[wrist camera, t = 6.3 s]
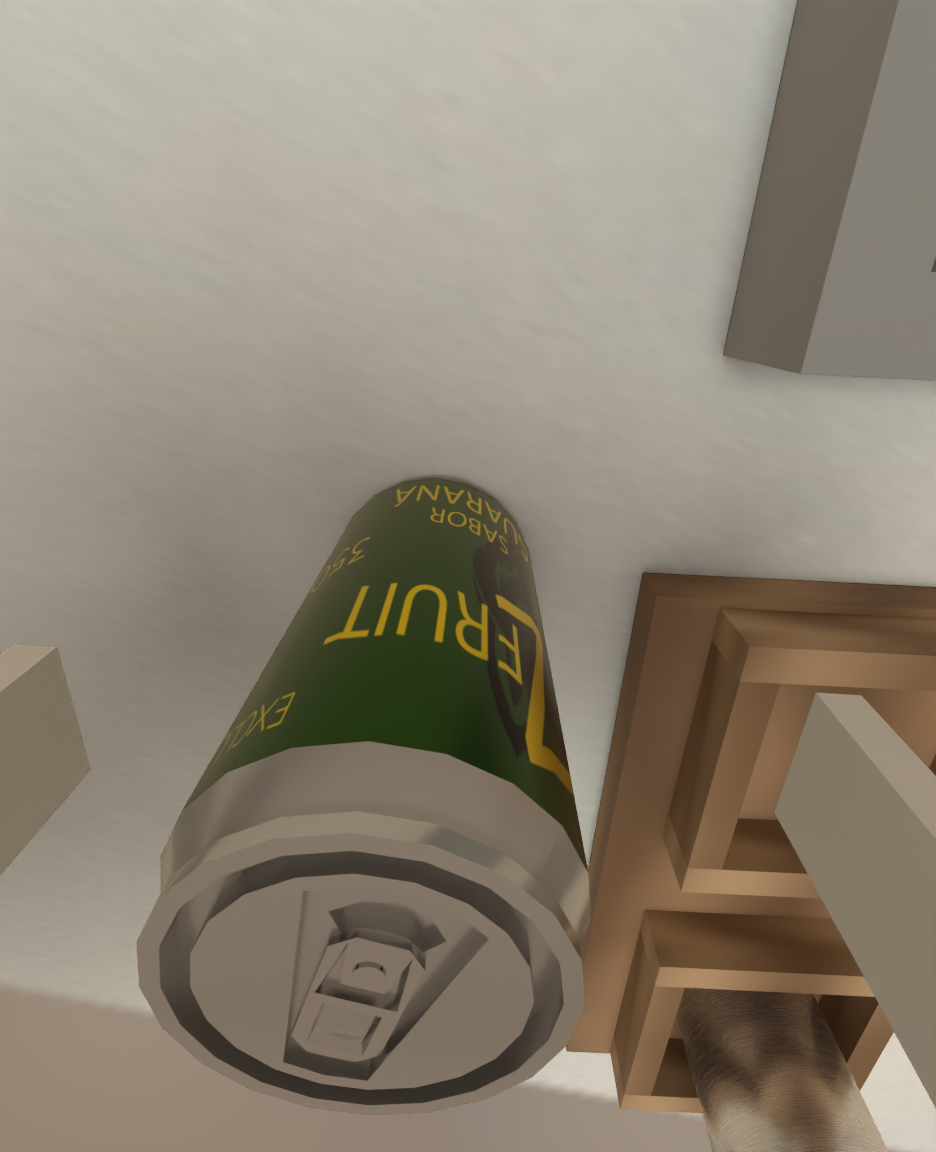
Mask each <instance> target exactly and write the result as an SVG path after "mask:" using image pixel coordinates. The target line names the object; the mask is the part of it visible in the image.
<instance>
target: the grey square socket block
mask: <svg viewBox="0 0 936 1152" xmlns="http://www.w3.org/2000/svg"><path fill="white" fill-rule="evenodd" d="M724 355H726V356H730V357H734V358H738V359H742V360H746V361H750V362H754V363H758V364H762V365H767V366H771V367H775V368H779V369H783V370H787V371H791V372H795V373H799V374H814V375H834V376H854V377H873V378H893V379H913V380H933V381H936V0H798V3H797V7H796V12H795V17H794V22H793V26H792V31H791V36H790V41H789V45H788V50H787V55H786V60H785V65H784V69H783V74H782V79H781V84H780V88H779V93H778V98H777V103H776V107H775V112H774V117H773V122H772V126H771V131H770V136H769V141H768V145H767V150H766V155H765V160H764V165H763V169H762V174H761V179H760V184H759V188H758V193H757V198H756V203H755V207H754V212H753V217H752V222H751V226H750V231H749V236H748V241H747V246H746V250H745V255H744V260H743V265H742V269H741V274H740V279H739V284H738V288H737V293H736V298H735V303H734V307H733V312H732V317H731V322H730V326H729V331H728V336H727V341H726V346H725V350H724Z"/></svg>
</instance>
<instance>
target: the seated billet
mask: <svg viewBox="0 0 936 1152" xmlns="http://www.w3.org/2000/svg"><path fill="white" fill-rule="evenodd" d="M676 1019H677V1023H678V1026H679V1030H680V1034H681V1037H682V1041H683V1045H684V1049H685V1052H686V1056H687V1060H688V1063H689V1067H690V1071H691V1074H692V1078H693V1082H694V1086H695V1089H696V1093H697V1097H698V1100H699V1104H700V1108H701V1111H702V1115H703V1119H704V1122H705V1126H706V1130H707V1134H708V1137H709V1141H710V1145H711V1148H712V1152H888V1150H887V1148H886V1145H885V1143H884V1141H883V1139H882V1137H881V1135H880V1133H879V1131H878V1129H877V1127H876V1124H875V1122H874V1120H873V1118H872V1116H871V1114H870V1112H869V1110H868V1108H867V1106H866V1103H865V1101H864V1099H863V1097H862V1095H861V1093H860V1091H859V1089H858V1087H857V1085H856V1082H855V1080H854V1078H853V1076H852V1074H851V1072H850V1070H849V1068H848V1066H847V1064H846V1061H845V1059H844V1057H843V1055H842V1053H841V1051H840V1049H839V1047H838V1045H837V1043H836V1040H835V1038H834V1036H833V1034H832V1032H831V1030H830V1028H829V1026H828V1024H827V1022H826V1019H825V1017H824V1015H823V1013H822V1011H821V1009H820V1007H819V1005H818V1003H817V1001H816V998H815V996H814V994H805V993H785V992H764V991H744V990H723V989H703V988H685V989H684V992H683V995H682V999H681V1002H680V1005H679V1008H678V1011H677V1015H676Z"/></svg>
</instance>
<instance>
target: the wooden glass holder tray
mask: <svg viewBox="0 0 936 1152" xmlns="http://www.w3.org/2000/svg"><path fill="white" fill-rule="evenodd" d="M816 693H831V694H848V695H861V696H862V697H863V698H864V699H865V700H866V701H867V702H868V703H869V704H870V705H871V707H872V708H873V709H874V710H875V711H876V712H877V713H878V714H879V715H880V716H881V717H882V718H883V719H884V721H885V722H886V723H887V724H888V725H889V726H890V727H891V728H892V729H893V730H894V731H895V732H896V734H897V735H898V736H899V737H900V738H901V739H902V740H903V741H904V742H905V743H906V744H907V745H908V746H909V748H910V749H911V750H912V751H913V752H914V753H915V754H916V755H917V756H918V757H919V758H920V759H921V761H922V762H923V763H924V764H925V765H926V766H927V767H928V768H929V769H930V770H931V771H932V772H933V773H934V775H935V776H936V587H916V586H896V585H876V584H856V583H836V582H816V581H796V580H776V579H756V578H736V577H716V576H696V575H676V574H656V573H643V575H642V581H641V586H640V591H639V597H638V602H637V608H636V613H635V619H634V624H633V630H632V635H631V640H630V646H629V651H628V657H627V662H626V668H625V673H624V679H623V684H622V690H621V695H620V700H619V706H618V711H617V717H616V722H615V728H614V733H613V739H612V744H611V749H610V755H609V760H608V766H607V771H606V777H605V782H604V788H603V793H602V798H601V804H600V809H599V815H598V820H597V826H596V831H595V837H594V842H593V848H592V853H591V858H590V864H589V869H588V877H589V894H590V912H591V922H590V925H589V928H588V931H587V934H586V936H585V939H584V942H583V945H582V948H581V958H582V969H583V983H584V997H585V1006H584V1009H583V1011H582V1013H581V1015H580V1017H579V1020H578V1022H577V1024H576V1026H575V1029H574V1031H573V1033H572V1035H571V1037H570V1040H569V1042H568V1044H567V1046H566V1050H567V1051H570V1052H591V1053H611V1059H612V1065H613V1070H614V1076H615V1082H616V1088H617V1094H618V1100H619V1106H620V1109H629V1110H648V1111H669V1112H690V1113H702V1111H701V1108H700V1104H699V1100H698V1097H697V1093H696V1089H695V1086H694V1082H693V1078H692V1074H691V1071H690V1067H689V1063H688V1060H687V1056H686V1052H685V1049H684V1045H683V1041H682V1037H681V1034H680V1030H679V1026H678V1023H677V1019H676V1015H677V1011H678V1008H679V1005H680V1002H681V999H682V995H683V992H684V989H685V988H703V989H723V990H744V991H764V992H785V993H805V994H814V996H815V998H816V1001H817V1003H818V1005H819V1007H820V1009H821V1011H822V1013H823V1015H824V1017H825V1019H826V1022H827V1024H828V1026H829V1028H830V1030H831V1032H832V1034H833V1036H834V1038H835V1040H836V1043H837V1045H838V1047H839V1049H840V1051H841V1053H842V1055H843V1057H844V1059H845V1061H846V1064H847V1066H848V1068H849V1070H850V1072H851V1074H852V1076H853V1078H854V1080H855V1082H856V1085H857V1087H858V1089H859V1091H860V1090H861V1088H862V1086H863V1084H864V1083H865V1081H866V1079H867V1077H868V1076H869V1074H870V1072H871V1070H872V1069H873V1067H874V1065H875V1063H876V1062H877V1060H878V1058H879V1056H880V1055H881V1053H882V1051H883V1050H884V1048H885V1046H886V1044H887V1043H888V1041H889V1039H890V1037H891V1036H892V1034H893V1032H894V1031H893V1029H892V1027H891V1025H890V1023H889V1022H888V1020H887V1018H886V1016H885V1014H884V1012H883V1011H882V1009H881V1007H880V1005H879V1003H878V1001H877V1000H876V998H875V996H874V994H873V992H872V990H871V989H870V987H869V985H868V983H867V981H866V979H865V978H864V976H863V974H862V972H861V970H860V968H859V967H858V965H857V963H856V961H855V959H854V957H853V956H852V954H851V952H850V950H849V948H848V946H847V945H846V943H845V941H844V939H843V937H842V935H841V934H840V932H839V930H838V928H837V926H836V925H835V923H834V921H833V919H832V917H831V915H830V914H829V912H828V910H827V908H826V906H825V904H824V903H823V901H822V899H821V897H820V895H819V893H818V892H817V890H816V888H815V886H814V884H813V882H812V881H811V879H810V877H809V875H808V873H807V871H806V870H805V868H804V866H803V864H802V862H801V860H800V859H799V857H798V855H797V853H796V851H795V849H794V848H793V846H792V844H791V842H790V840H789V838H788V837H787V835H786V833H785V831H784V829H783V827H782V826H781V824H780V822H779V820H778V818H777V816H776V815H775V810H776V807H777V804H778V801H779V798H780V796H781V793H782V790H783V787H784V784H785V781H786V778H787V775H788V772H789V769H790V766H791V764H792V761H793V758H794V755H795V752H796V749H797V746H798V743H799V740H800V737H801V735H802V732H803V729H804V726H805V723H806V720H807V717H808V714H809V711H810V708H811V705H812V703H813V700H814V697H815V694H816Z"/></svg>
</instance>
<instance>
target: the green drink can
mask: <svg viewBox="0 0 936 1152" xmlns="http://www.w3.org/2000/svg"><path fill="white" fill-rule="evenodd" d="M590 922H591V912H590V894H589V877H588V869H587V864H586V858H585V853H584V848H583V842H582V837H581V831H580V826H579V821H578V815H577V810H576V804H575V799H574V794H573V788H572V783H571V777H570V772H569V767H568V761H567V756H566V750H565V745H564V740H563V734H562V729H561V723H560V718H559V713H558V707H557V702H556V696H555V691H554V686H553V680H552V675H551V669H550V664H549V659H548V653H547V648H546V642H545V637H544V632H543V626H542V621H541V615H540V610H539V605H538V599H537V594H536V588H535V583H534V578H533V572H532V567H531V561H530V556H529V551H528V547H527V545H526V543H525V541H524V539H523V536H522V534H521V532H520V530H519V528H518V526H517V523H516V522H515V521H514V520H513V519H512V518H511V517H510V515H509V514H508V513H507V512H506V511H505V510H504V509H503V508H502V507H501V506H500V505H499V504H498V503H497V502H496V501H495V500H494V499H492V498H490V497H488V496H486V495H485V494H483V493H481V492H479V491H477V490H475V489H474V488H472V487H470V486H468V485H465V484H460V483H455V482H449V481H444V480H439V479H429V480H420V481H411V482H403V483H401V484H399V485H397V486H394V487H392V488H390V489H388V490H386V491H383V492H381V493H379V494H377V495H375V496H374V497H373V498H372V499H371V500H370V501H369V502H368V503H366V504H365V505H364V506H363V507H362V508H361V509H360V510H359V511H358V512H357V513H356V514H355V515H354V516H353V517H352V519H351V521H350V523H349V524H348V526H347V528H346V530H345V531H344V533H343V535H342V536H341V538H340V540H339V542H338V543H337V545H336V547H335V548H334V550H333V552H332V554H331V555H330V557H329V559H328V561H327V562H326V564H325V566H324V567H323V569H322V571H321V573H320V574H319V576H318V578H317V579H316V581H315V583H314V585H313V586H312V588H311V590H310V592H309V593H308V595H307V597H306V598H305V600H304V602H303V604H302V605H301V607H300V609H299V610H298V612H297V614H296V616H295V617H294V619H293V621H292V622H291V624H290V626H289V628H288V629H287V631H286V633H285V635H284V636H283V638H282V640H281V641H280V643H279V645H278V647H277V648H276V650H275V652H274V653H273V655H272V657H271V659H270V660H269V662H268V664H267V666H266V667H265V669H264V671H263V672H262V674H261V676H260V678H259V679H258V681H257V683H256V684H255V686H254V688H253V690H252V691H251V693H250V695H249V696H248V698H247V700H246V702H245V703H244V705H243V707H242V709H241V710H240V712H239V714H238V715H237V717H236V719H235V721H234V722H233V724H232V726H231V727H230V729H229V731H228V733H227V734H226V736H225V738H224V740H223V741H222V743H221V745H220V746H219V748H218V750H217V752H216V753H215V755H214V757H213V758H212V760H211V762H210V764H209V765H208V767H207V769H206V770H205V772H204V774H203V776H202V777H201V779H200V781H199V783H198V784H197V786H196V788H195V789H194V791H193V793H192V795H191V796H190V798H189V800H188V801H187V803H186V805H185V807H184V808H183V810H182V812H181V814H180V816H179V818H178V821H177V823H176V825H175V827H174V829H173V831H172V833H171V835H170V837H169V839H168V842H167V844H166V846H165V848H164V850H163V852H162V854H161V894H160V896H159V898H158V900H157V902H156V904H155V906H154V908H153V910H152V912H151V914H150V916H149V918H148V920H147V922H146V924H145V926H144V928H143V930H142V932H141V934H140V936H139V938H138V940H137V955H138V973H139V987H140V989H141V990H142V992H143V994H144V996H145V998H146V999H147V1001H148V1003H149V1005H150V1007H151V1008H152V1010H153V1012H154V1014H155V1016H156V1017H157V1019H158V1021H159V1023H160V1024H161V1026H162V1028H163V1029H164V1030H165V1031H166V1032H168V1034H170V1035H171V1036H172V1037H173V1038H174V1039H175V1040H176V1041H178V1043H180V1044H181V1045H182V1046H183V1047H184V1048H185V1049H186V1050H187V1051H188V1052H190V1053H191V1054H192V1055H193V1056H194V1057H195V1058H196V1059H197V1060H198V1061H200V1062H201V1063H202V1064H204V1065H206V1066H208V1067H210V1068H212V1069H213V1070H215V1071H217V1072H219V1073H221V1074H223V1075H225V1076H226V1077H228V1078H230V1079H232V1080H234V1081H236V1082H238V1083H239V1084H241V1085H243V1086H245V1087H247V1088H249V1089H251V1090H254V1091H256V1092H260V1093H263V1094H266V1095H269V1096H273V1097H276V1098H279V1099H283V1100H286V1101H289V1102H293V1103H296V1104H299V1105H302V1106H305V1107H309V1108H316V1109H324V1110H332V1111H340V1112H347V1113H356V1114H364V1115H387V1114H412V1113H430V1112H435V1111H439V1110H443V1109H448V1108H452V1107H456V1106H461V1105H465V1104H469V1103H474V1102H478V1101H482V1100H486V1099H488V1098H490V1097H492V1096H494V1095H496V1094H498V1093H500V1092H502V1091H504V1090H506V1089H509V1088H510V1087H513V1086H515V1085H517V1084H519V1083H521V1082H523V1081H525V1080H527V1079H529V1078H531V1077H533V1076H534V1075H535V1074H536V1073H537V1072H538V1071H539V1070H540V1069H542V1068H543V1067H544V1066H545V1065H546V1064H547V1063H548V1062H549V1061H550V1060H551V1059H552V1058H553V1057H555V1056H556V1055H557V1054H558V1053H559V1052H560V1051H561V1050H562V1049H563V1048H564V1047H565V1046H567V1044H568V1042H569V1040H570V1037H571V1035H572V1033H573V1031H574V1029H575V1026H576V1024H577V1022H578V1020H579V1017H580V1015H581V1013H582V1011H583V1009H584V1006H585V997H584V983H583V969H582V958H581V948H582V945H583V942H584V939H585V936H586V934H587V931H588V928H589V925H590Z"/></svg>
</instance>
